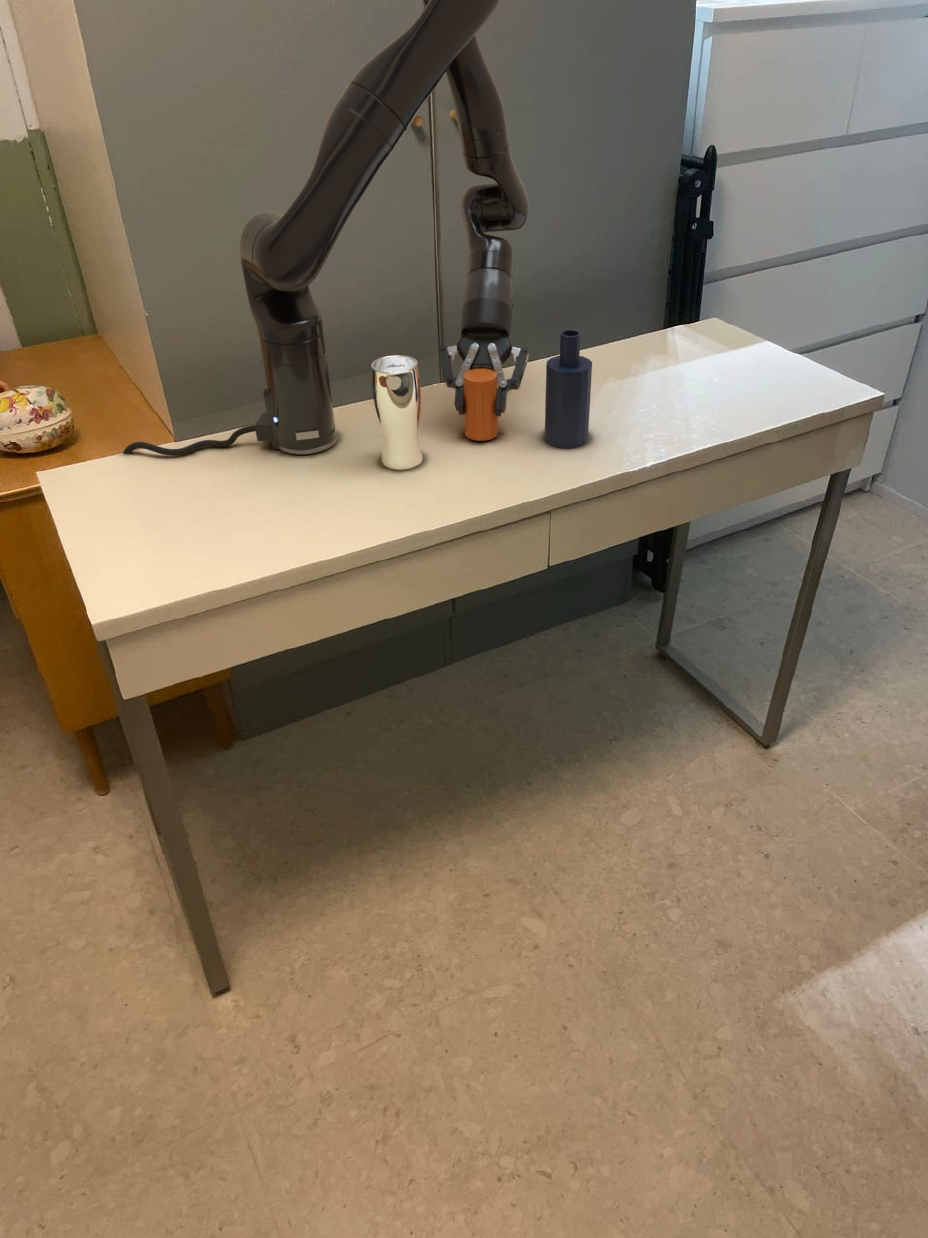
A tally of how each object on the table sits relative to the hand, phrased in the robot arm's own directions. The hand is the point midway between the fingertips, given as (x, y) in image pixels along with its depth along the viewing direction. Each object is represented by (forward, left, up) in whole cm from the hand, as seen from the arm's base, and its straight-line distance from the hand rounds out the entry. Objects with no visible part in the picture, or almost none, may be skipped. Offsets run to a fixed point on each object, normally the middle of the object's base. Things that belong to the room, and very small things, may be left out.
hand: (479, 413), depth 141 cm
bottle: (+13, +2, -5) cm, 14 cm away
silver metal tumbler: (-11, -7, -5) cm, 14 cm away
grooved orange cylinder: (0, +2, -4) cm, 5 cm away
